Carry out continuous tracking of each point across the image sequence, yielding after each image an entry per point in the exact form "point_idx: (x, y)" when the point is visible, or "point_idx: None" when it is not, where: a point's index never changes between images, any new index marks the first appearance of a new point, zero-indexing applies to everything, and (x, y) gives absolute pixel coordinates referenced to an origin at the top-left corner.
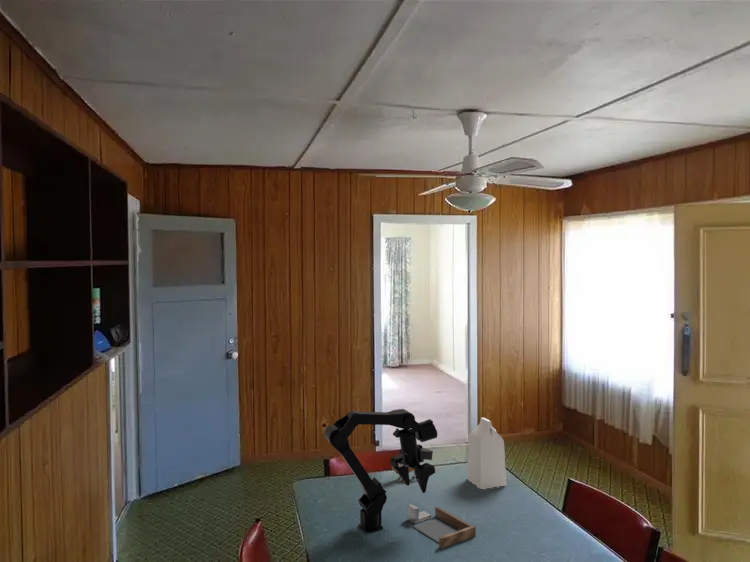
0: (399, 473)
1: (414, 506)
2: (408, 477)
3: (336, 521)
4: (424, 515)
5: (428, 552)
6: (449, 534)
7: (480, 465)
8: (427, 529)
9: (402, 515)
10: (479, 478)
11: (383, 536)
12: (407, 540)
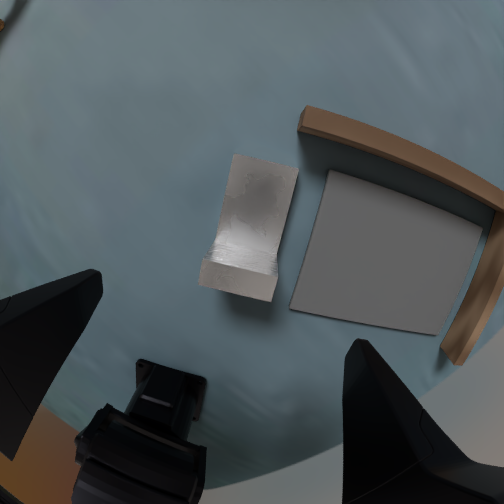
0: (26, 413)
1: (241, 275)
2: (53, 308)
3: (83, 396)
4: (273, 197)
5: (421, 385)
6: (478, 326)
7: None
8: (360, 291)
9: (166, 241)
10: None
11: (248, 407)
12: (333, 384)
